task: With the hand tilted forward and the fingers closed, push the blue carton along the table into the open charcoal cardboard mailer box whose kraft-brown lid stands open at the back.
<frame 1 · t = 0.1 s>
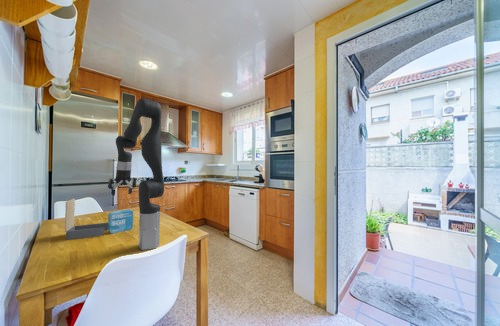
hand: (121, 194, 115), 22 cm above the table, tool pointing down, fingers open, 8 cm apart
blue carton: (120, 231, 114), on the table
mailer box: (88, 234, 107), on the table
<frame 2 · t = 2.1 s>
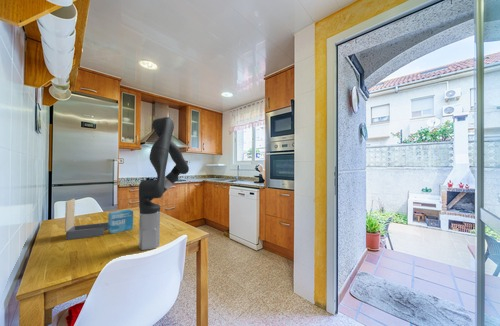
hand: (142, 204, 119), 15 cm above the table, tool tilted 45°, fingers closed
nothing on the table moved.
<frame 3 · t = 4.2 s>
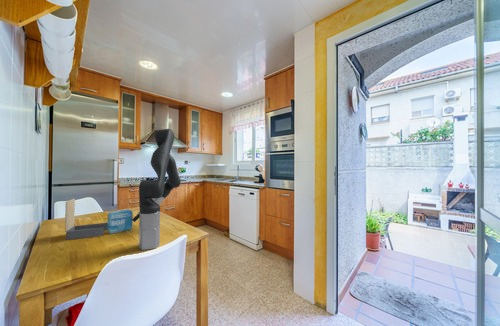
hand: (133, 220, 117), 5 cm above the table, tool tilted 45°, fingers closed
blue carton: (120, 231, 114), on the table, touching gripper
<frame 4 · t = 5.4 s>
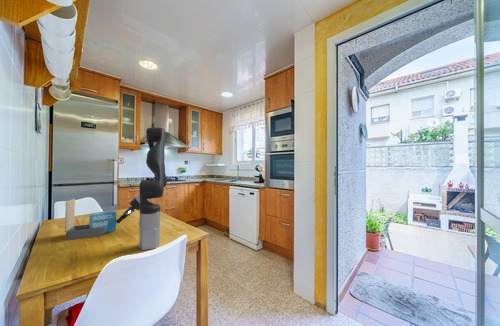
hand: (117, 222, 114), 5 cm above the table, tool tilted 45°, fingers closed
blue carton: (102, 233, 110), resting in mailer box, touching gripper
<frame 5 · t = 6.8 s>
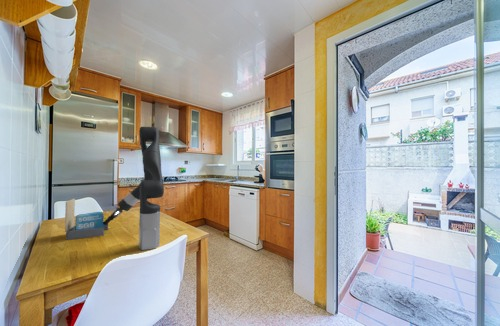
hand: (104, 223, 111), 5 cm above the table, tool tilted 45°, fingers closed
blue carton: (89, 234, 108), resting in mailer box, touching gripper
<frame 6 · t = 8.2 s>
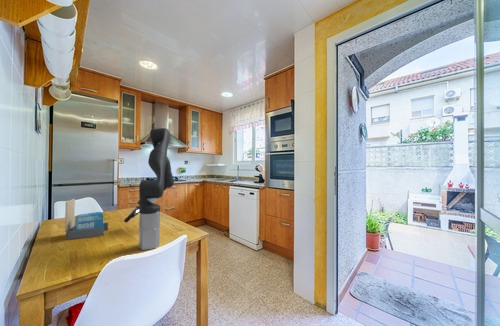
hand: (125, 221, 115), 5 cm above the table, tool tilted 45°, fingers closed
blue carton: (89, 234, 108), resting in mailer box
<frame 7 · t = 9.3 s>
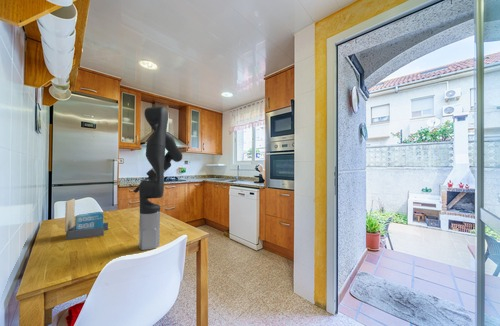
hand: (134, 192, 117), 24 cm above the table, tool tilted 45°, fingers closed
nothing on the table moved.
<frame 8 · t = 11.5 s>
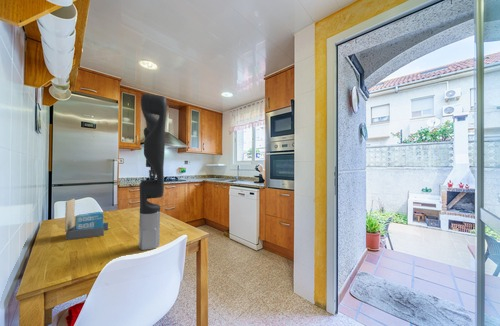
hand: (152, 187, 116), 27 cm above the table, tool pointing down, fingers closed
nothing on the table moved.
at the end: blue carton 0.3 cm from the target spot, resting in mailer box; blue carton tilted 0°; blue carton moved 15.2 cm from its start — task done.
